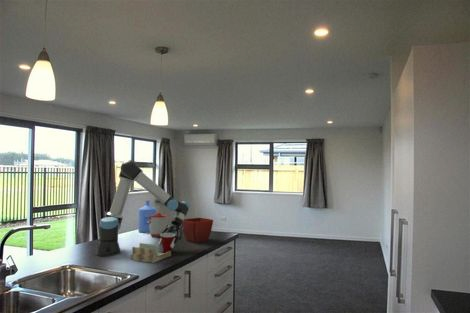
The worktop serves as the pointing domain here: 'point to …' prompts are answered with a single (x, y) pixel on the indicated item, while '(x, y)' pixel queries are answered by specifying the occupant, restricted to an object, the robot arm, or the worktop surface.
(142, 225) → the water jug
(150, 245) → the pusher
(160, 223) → the citrus juicer
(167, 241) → the plastic cup
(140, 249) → the wooden tray
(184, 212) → the robot arm
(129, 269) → the worktop surface
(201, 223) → the plant pot
